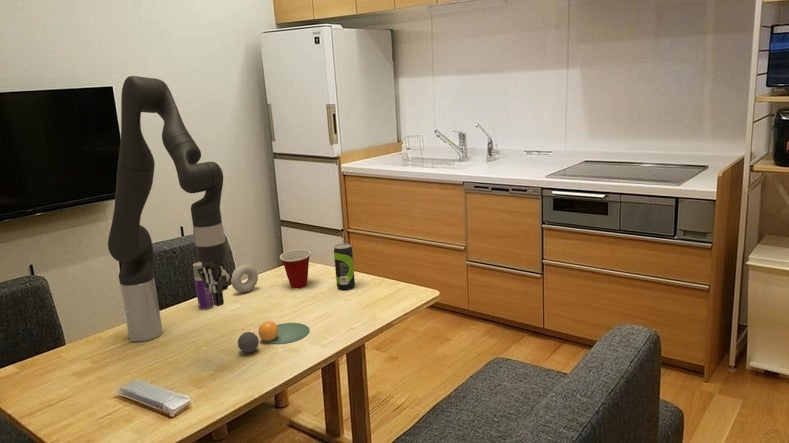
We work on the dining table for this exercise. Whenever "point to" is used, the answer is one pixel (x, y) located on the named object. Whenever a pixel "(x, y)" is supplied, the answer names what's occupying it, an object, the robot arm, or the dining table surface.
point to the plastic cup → (296, 266)
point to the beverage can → (344, 266)
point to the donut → (239, 273)
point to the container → (202, 290)
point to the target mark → (289, 333)
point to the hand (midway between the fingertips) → (218, 304)
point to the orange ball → (268, 331)
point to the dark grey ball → (248, 342)
